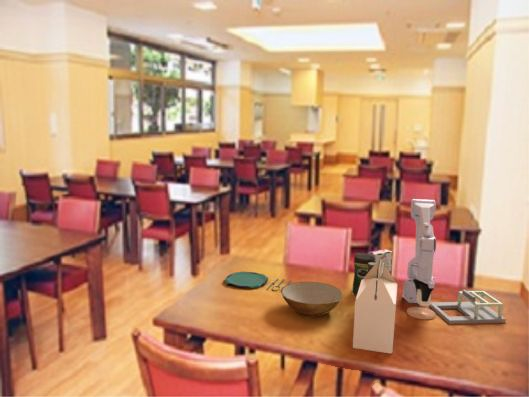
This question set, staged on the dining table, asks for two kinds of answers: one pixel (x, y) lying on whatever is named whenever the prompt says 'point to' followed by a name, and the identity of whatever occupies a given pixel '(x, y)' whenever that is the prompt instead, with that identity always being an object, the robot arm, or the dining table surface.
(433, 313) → the terracotta dish
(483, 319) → the puzzle board
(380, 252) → the candy bar box
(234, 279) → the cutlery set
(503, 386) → the dining table surface
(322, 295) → the bowl
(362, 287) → the gable box
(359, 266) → the coffee jar
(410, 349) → the dining table surface
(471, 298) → the cream slatted rack
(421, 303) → the cream block
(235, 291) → the dining table surface
